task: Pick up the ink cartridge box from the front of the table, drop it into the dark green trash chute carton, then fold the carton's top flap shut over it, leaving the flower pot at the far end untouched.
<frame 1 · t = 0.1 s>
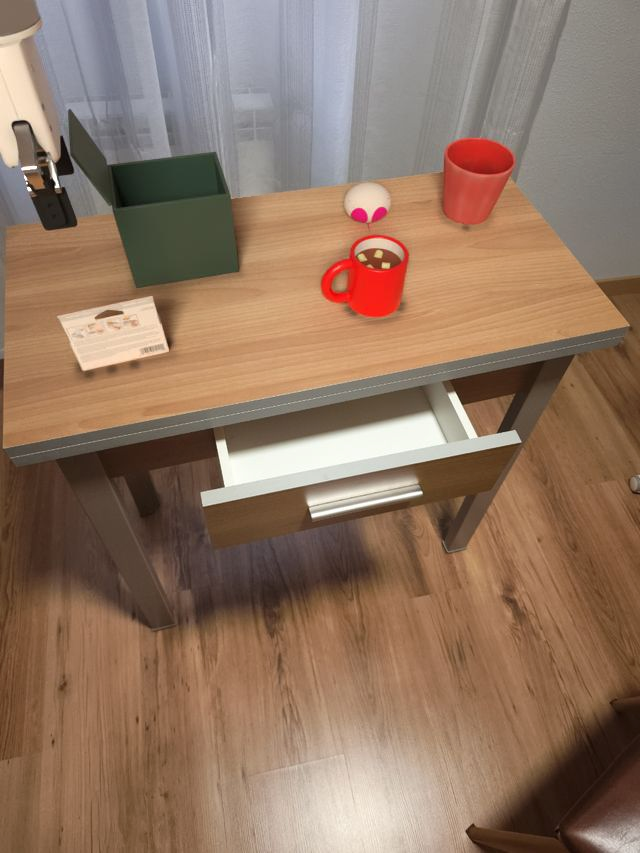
hand: (60, 199, 59), 20 cm above the table, tool pointing down, fingers open, 9 cm apart
chute: (183, 256, 86), on the table
chute flap: (89, 157, 71), point 17 cm above the table, hinge at 110.0°
toy mouse: (366, 221, 92), on the table
mug: (360, 302, 81), on the table
ink cartridge box: (126, 357, 74), on the table
flower pot: (465, 212, 95), on the table
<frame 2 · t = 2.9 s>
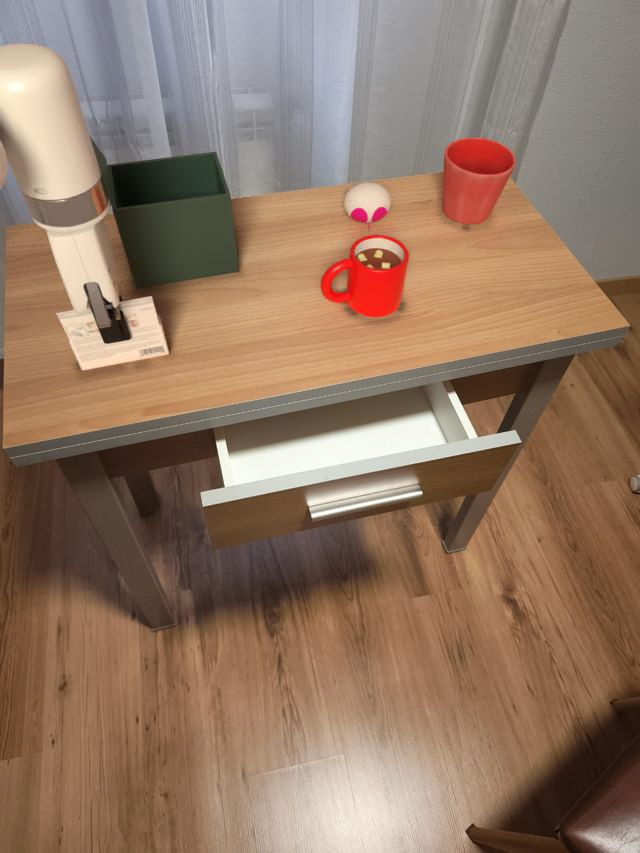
hand: (116, 330, 70), 5 cm above the table, tool pointing down, fingers closed on ink cartridge box, 2 cm apart
ink cartridge box: (126, 358, 74), on the table, touching gripper
everything else where it was.
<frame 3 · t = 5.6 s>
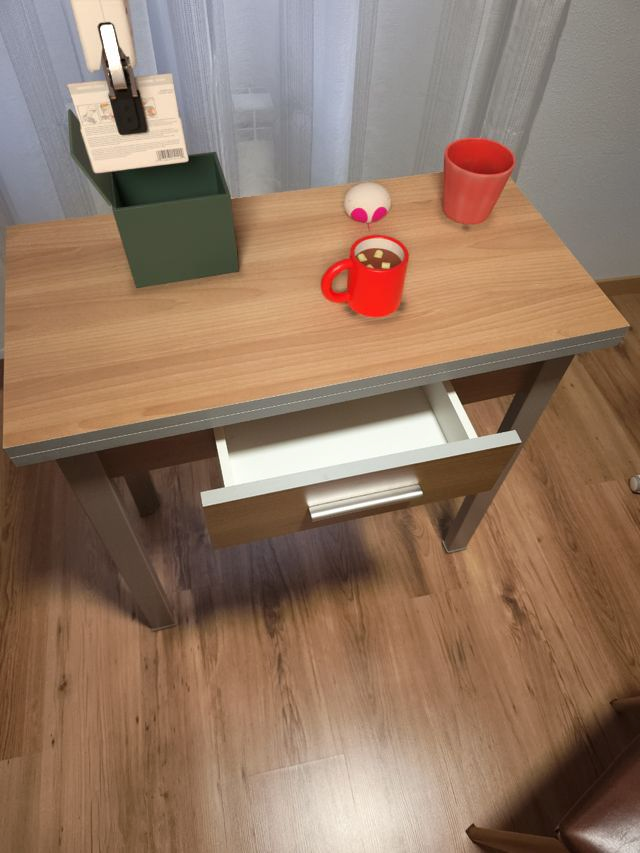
hand: (132, 124, 64), 22 cm above the table, tool pointing down, fingers closed on ink cartridge box
ink cartridge box: (141, 166, 68), point 18 cm above the table, touching gripper
everything else where it was.
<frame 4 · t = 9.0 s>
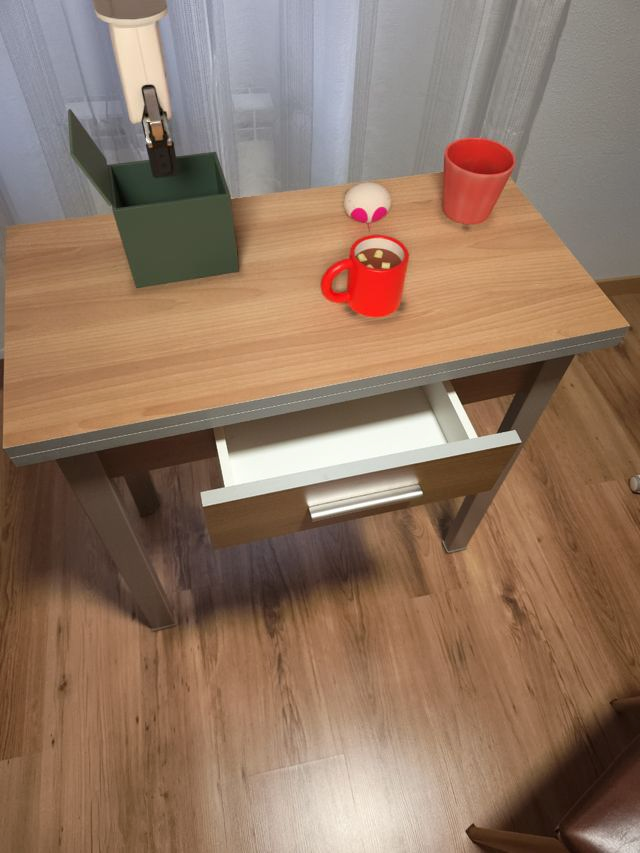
hand: (161, 155, 73), 16 cm above the table, tool pointing down, fingers open, 9 cm apart
ink cartridge box: (182, 258, 85), resting on chute
everything else where it was.
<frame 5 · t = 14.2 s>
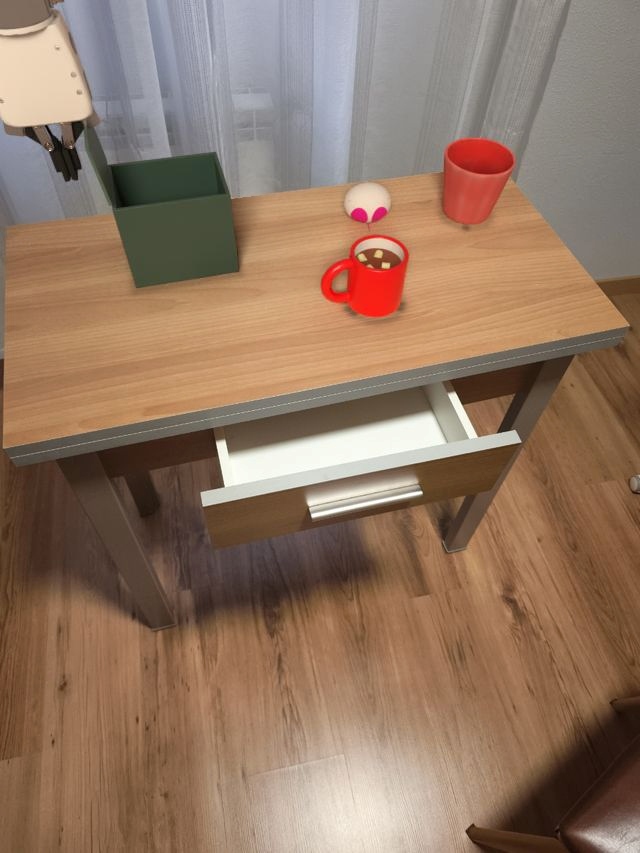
hand: (71, 175, 72), 15 cm above the table, tool pointing down, fingers closed
chute flap: (97, 155, 71), point 17 cm above the table, hinge at 95.5°
everything else where it was.
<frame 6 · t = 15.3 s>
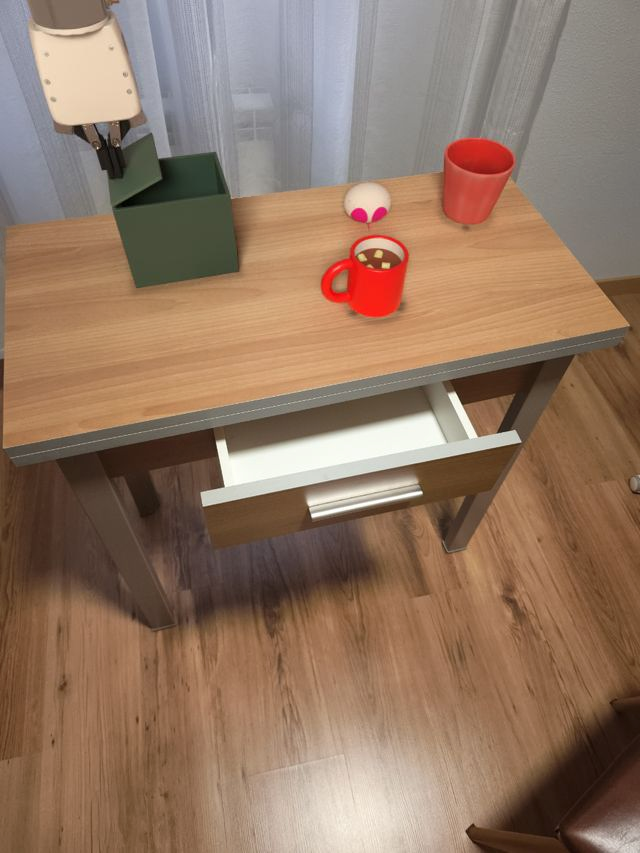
hand: (115, 173, 73), 14 cm above the table, tool pointing down, fingers closed
chute flap: (132, 168, 73), point 15 cm above the table, hinge at 22.9°
everything else where it was.
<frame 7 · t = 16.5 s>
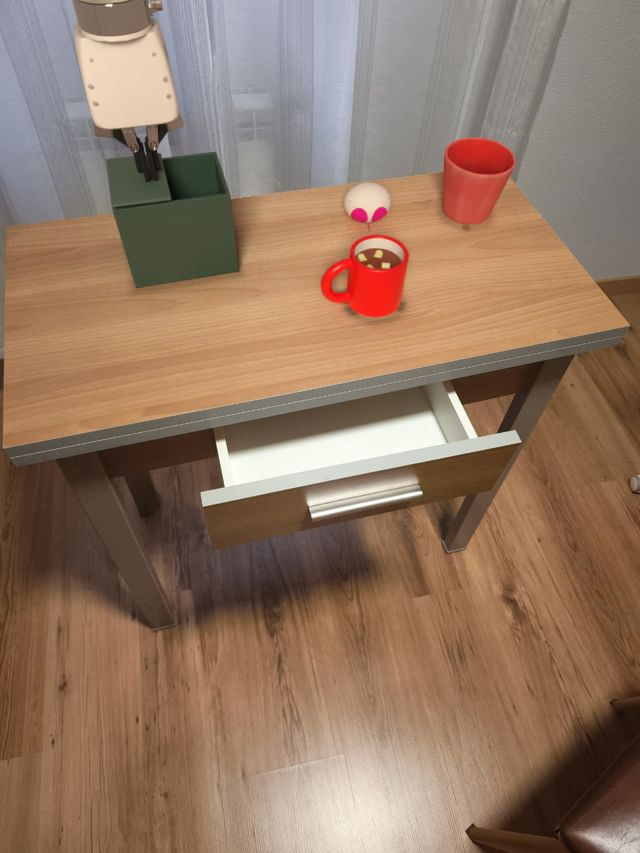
hand: (150, 175, 75), 13 cm above the table, tool pointing down, fingers closed
chute flap: (137, 179, 75), point 13 cm above the table, hinge at -0.4°, touching gripper
everything else where it was.
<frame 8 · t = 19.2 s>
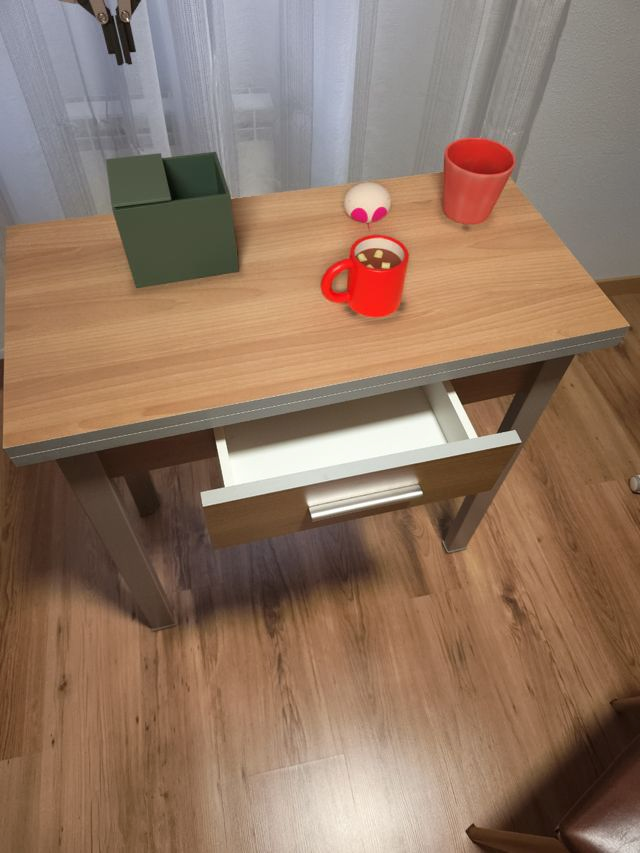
hand: (124, 59, 63), 27 cm above the table, tool pointing down, fingers closed
chute flap: (137, 179, 75), point 13 cm above the table, hinge at -0.5°
everything else where it was.
at the end: ink cartridge box inside the target area in the chute (0.8 cm from its centre), point 0.3 cm above the chute's base; chute flap at +0° (first picture: +110°); flower pot moved 0.2 cm from its start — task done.
